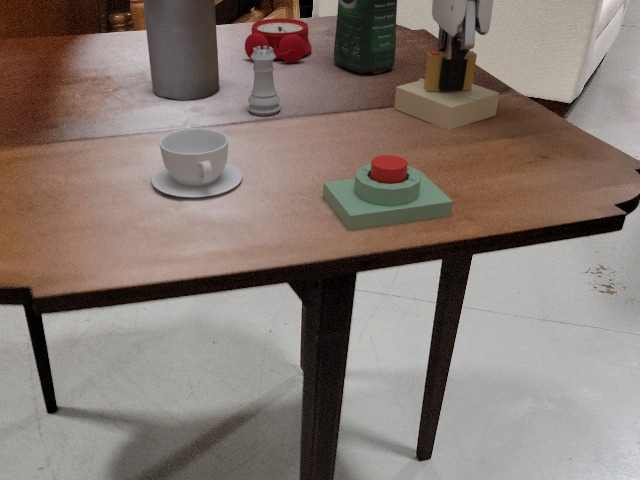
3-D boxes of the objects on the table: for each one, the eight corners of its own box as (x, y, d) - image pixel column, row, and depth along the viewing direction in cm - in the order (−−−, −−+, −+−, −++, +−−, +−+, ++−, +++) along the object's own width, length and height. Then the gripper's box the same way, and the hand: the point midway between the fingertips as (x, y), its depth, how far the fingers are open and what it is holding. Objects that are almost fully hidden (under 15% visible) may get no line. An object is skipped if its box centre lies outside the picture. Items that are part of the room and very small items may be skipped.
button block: (417, 184, 80) (421, 153, 78) (450, 216, 74) (455, 184, 72) (322, 197, 78) (323, 165, 76) (349, 231, 72) (351, 198, 70)
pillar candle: (212, 76, 111) (205, -35, 101) (225, 97, 103) (220, -21, 94) (147, 82, 109) (135, -31, 99) (157, 103, 101) (144, -16, 92)
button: (397, 169, 76) (398, 153, 75) (411, 183, 73) (413, 166, 72) (364, 173, 75) (366, 157, 74) (378, 187, 72) (379, 171, 71)
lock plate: (496, 115, 97) (500, 91, 95) (448, 130, 93) (452, 106, 91) (440, 95, 103) (443, 72, 101) (393, 108, 99) (395, 85, 97)
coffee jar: (402, 70, 113) (416, -68, 101) (360, 78, 110) (369, -64, 98) (365, 54, 119) (374, -77, 108) (325, 62, 116) (329, -73, 105)
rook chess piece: (286, 107, 100) (286, 46, 95) (272, 118, 96) (271, 55, 92) (256, 103, 101) (255, 42, 96) (242, 113, 98) (239, 51, 93)
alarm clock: (316, 19, 123) (305, 19, 109) (314, 59, 125) (303, 64, 112) (255, 17, 124) (237, 17, 111) (254, 57, 127) (237, 62, 113)
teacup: (143, 171, 83) (138, 130, 80) (226, 158, 86) (224, 118, 83) (164, 208, 76) (159, 165, 73) (254, 192, 79) (253, 150, 76)
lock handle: (467, 86, 97) (473, 49, 94) (471, 90, 96) (477, 52, 93) (423, 88, 97) (427, 50, 94) (426, 92, 95) (431, 54, 92)
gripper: (525, -65, 79) (495, 106, 90) (480, -85, 91) (458, 68, 102) (457, -63, 78) (435, 108, 90) (421, -84, 91) (406, 70, 102)
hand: (448, 86), depth 96 cm, fingers closed on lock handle
